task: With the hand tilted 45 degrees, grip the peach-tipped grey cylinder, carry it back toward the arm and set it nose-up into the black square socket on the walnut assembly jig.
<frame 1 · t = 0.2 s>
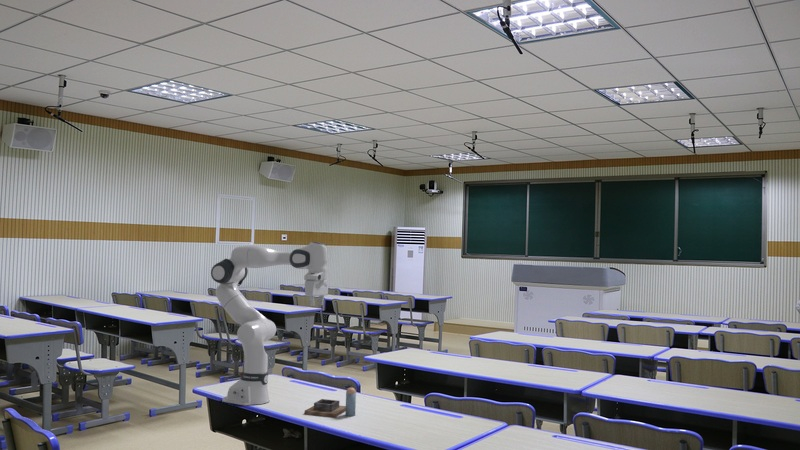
hand: (316, 305, 292), 48 cm above the table, tool pointing down, fingers open, 8 cm apart
jig: (326, 411, 282), on the table
peach-tipped grey cylinder: (350, 415, 278), on the table
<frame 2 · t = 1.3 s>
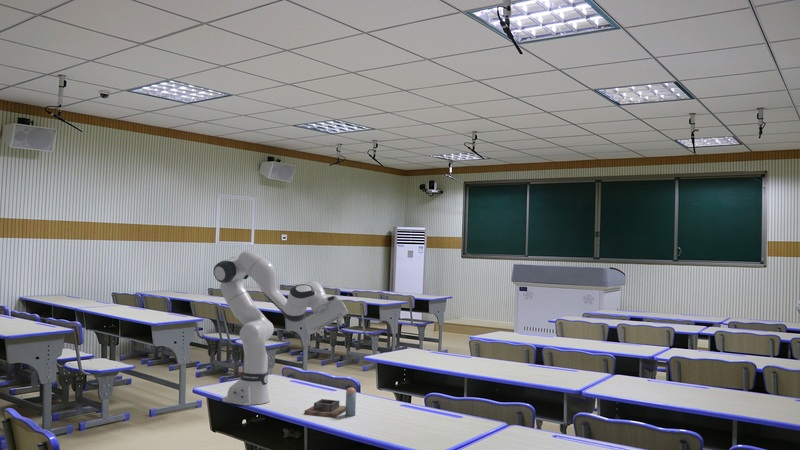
hand: (331, 329, 273), 39 cm above the table, tool tilted 55°, fingers open, 8 cm apart
nothing on the table moved.
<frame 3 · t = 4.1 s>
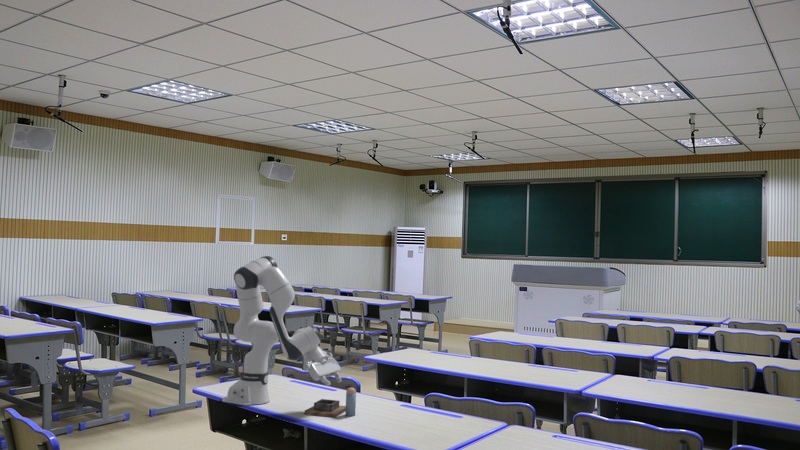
hand: (334, 383, 281), 13 cm above the table, tool tilted 45°, fingers open, 8 cm apart
nothing on the table moved.
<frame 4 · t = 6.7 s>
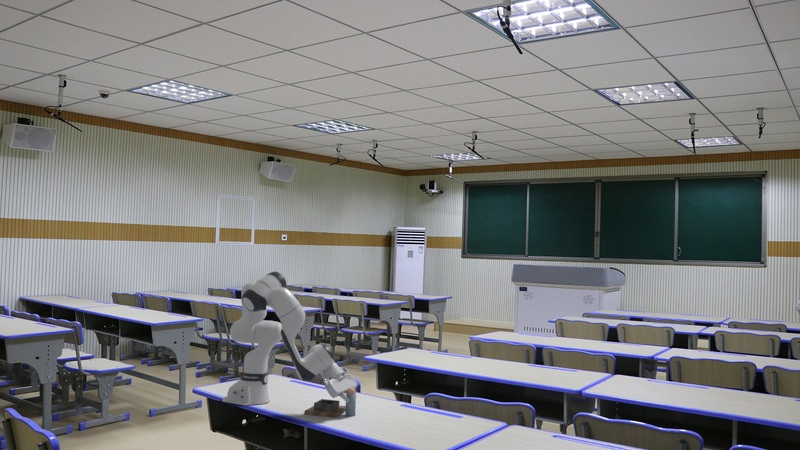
hand: (352, 400, 278), 7 cm above the table, tool tilted 45°, fingers closed on peach-tipped grey cylinder, 4 cm apart
peach-tipped grey cylinder: (350, 415, 278), on the table, touching gripper
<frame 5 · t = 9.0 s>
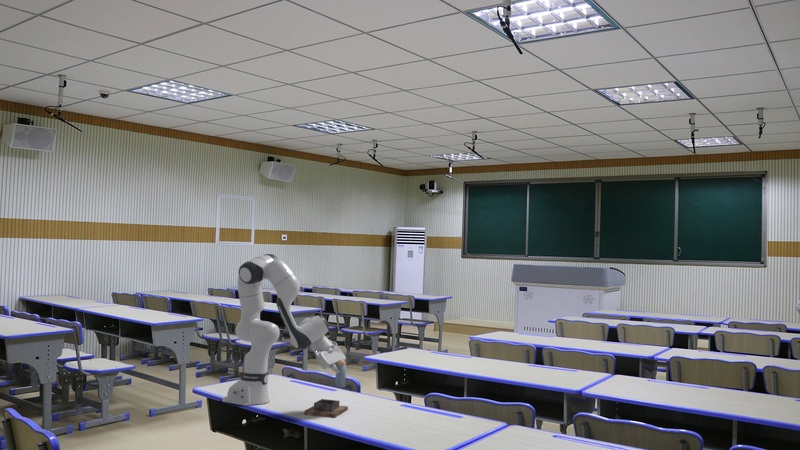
hand: (341, 371, 284), 18 cm above the table, tool tilted 45°, fingers closed on peach-tipped grey cylinder, 4 cm apart
peach-tipped grey cylinder: (340, 386, 284), point 11 cm above the table, touching gripper
when the fingers open (10 cm above the table, at t = 11.8 s): peach-tipped grey cylinder drops 2 cm, resting on jig.
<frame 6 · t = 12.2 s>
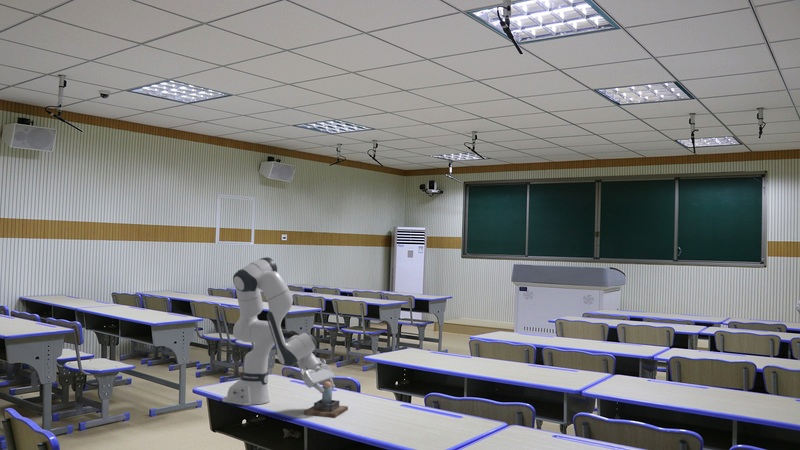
hand: (328, 390, 283), 10 cm above the table, tool tilted 45°, fingers open, 8 cm apart
peach-tipped grey cylinder: (326, 408, 282), point 2 cm above the table, touching jig
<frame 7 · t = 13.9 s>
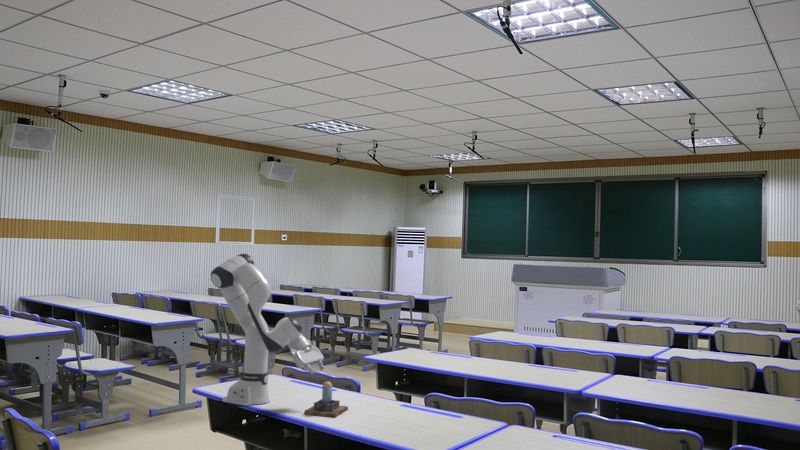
hand: (318, 371, 287), 18 cm above the table, tool tilted 45°, fingers open, 8 cm apart
nothing on the table moved.
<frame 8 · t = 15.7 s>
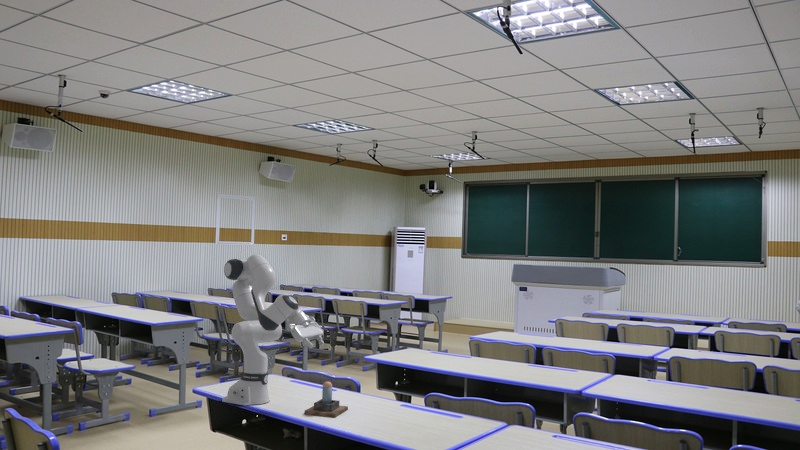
hand: (317, 345, 287), 29 cm above the table, tool tilted 45°, fingers open, 8 cm apart
nothing on the table moved.
at the end: peach-tipped grey cylinder 0.1 cm off-centre on the jig, point 1.5 cm above the jig's base; peach-tipped grey cylinder tilted 0°; the gripper is holding nothing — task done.
